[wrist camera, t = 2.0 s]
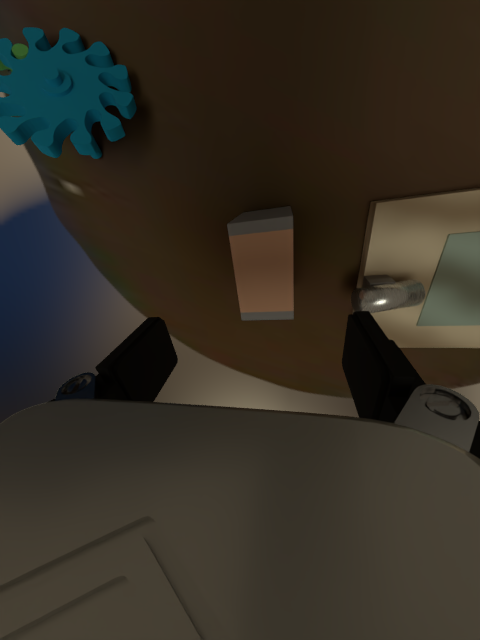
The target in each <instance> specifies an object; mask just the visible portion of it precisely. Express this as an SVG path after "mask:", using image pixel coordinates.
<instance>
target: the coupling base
mask: <svg viewBox="0 0 480 640" xmlns="http://www.w3.org/2000/svg"><path fill="white" fill-rule="evenodd" d="M411 279H415V280H418V281H420V282H421V283H422V284H423V286H424V288H425V299H424V301H423V302H422V303H421V304H420V305H418V306H412V307H406V308H400V309H394V310H388V311H381V312H375V313H371V315H372V316H373V318H374V319H375V320H376V322H377V323H378V325H379V326H380V328H381V329H382V330H383V332H384V333H385V335H386V336H387V338H388V339H389V340H393V341H394V342H395V343H396V344H397V346H398V347H408V348H480V188H472V189H464V190H457V191H449V192H441V193H433V194H426V195H418V196H410V197H403V198H395V199H387V200H380V201H372V202H370V208H369V214H368V221H367V227H366V233H365V239H364V245H363V252H362V258H361V264H360V270H359V277H358V283H357V288H362V287H368V286H374V285H381V284H390V283H396V282H399V281H405V280H411ZM353 312H354V309H353ZM352 315H353V314H352Z"/></svg>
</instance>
